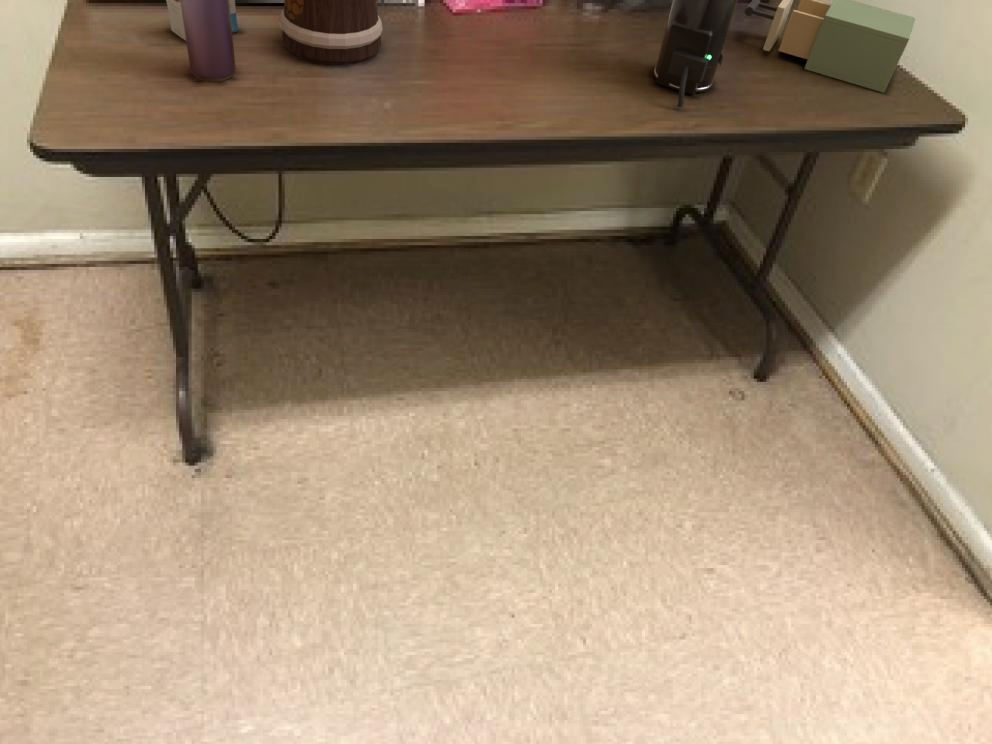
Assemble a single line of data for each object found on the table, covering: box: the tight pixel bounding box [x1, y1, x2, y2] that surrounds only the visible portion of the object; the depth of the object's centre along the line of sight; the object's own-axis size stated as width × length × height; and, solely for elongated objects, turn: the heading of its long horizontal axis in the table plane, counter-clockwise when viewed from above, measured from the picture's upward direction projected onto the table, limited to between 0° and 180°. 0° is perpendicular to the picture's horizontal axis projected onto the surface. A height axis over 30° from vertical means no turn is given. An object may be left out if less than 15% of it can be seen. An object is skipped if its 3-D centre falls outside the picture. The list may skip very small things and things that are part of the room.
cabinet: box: [804, 0, 916, 94], centre depth 139 cm, size 14×12×9 cm
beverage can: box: [180, 0, 237, 83], centre depth 107 cm, size 6×6×15 cm
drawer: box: [744, 0, 832, 60], centre depth 142 cm, size 18×10×7 cm, turn 64°
